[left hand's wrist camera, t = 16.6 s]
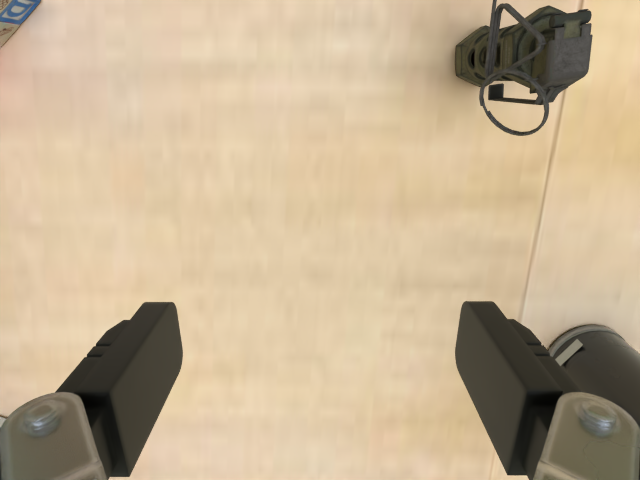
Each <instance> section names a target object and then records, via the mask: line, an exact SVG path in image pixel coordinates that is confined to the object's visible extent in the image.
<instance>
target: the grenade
mask: <svg viewBox="0 0 640 480" xmlns="http://www.w3.org/2000/svg"><path fill="white" fill-rule="evenodd" d="M496 1H497V0H493V5H492V13H491V21H490V27H488V26H483V27H480V28H479V29H477V30H476V31H475V32H473V33H472V34H471V35H469V36H468V37H467V38H465V39H464V40H463V41H462V42H460V43H459V44H458V45H457V46H456V56H455V65H456V76H458V77H460V78H462V79H464V80H466V81H468V82H470V83H472V84H474V85H477V86H479V87H481V89H480V95H479V99H480V105H481V106H483V108H484V110H485V112H486V115H487V116H488V117H489V119H490V120H491V121H492V122H493V123H494V124H495V125H496V126H497V127H498V128H500V129H501V130H503V131H505V132H507V133H510V134H513V135H518V136H524V135H530V134H533V133H535V132H536V131H538V130H539V129H540V128H541V127H542V126H543V125H544V124H545V122H546V120H547V118H548V114H549V102H553V101H554V100H555V98H556V96H557V95H558V94H559V93H560V92H561V91H563V90H564V89H566V88H568V86H570V85H571V84H573V83H575V82H576V81H578V80H579V79H581V78H583V77H584V76H585V75H586V74H587V72H588V69H589V61H590V52H591V43H592V35H590V33H591V23H589V24H586V23H588V22H589V21H590V19H591V11H587V10H588V9H584V10H579V11H578V12H575V13H565V12H563V11H561V10H559V9H556V8H554V7H551V6H546V7H542V8H539V9H538V10H536V11H535V12H533V13H532V14H530V15H529V16H527V17H526V18H524V17H522V16H521V15H520V14H519V13H518V12H517V11H516V10H515V9H514V8H513V7H512V6H511V5H509V4H507V3H506V4H500V5H499V6H498V7H497V9H496ZM495 9H496V11H495ZM503 9H505V10H507V11H508V12H509V13H510V14H511V15H512V16H513V17H514V18H515V19H516V20H517V21H518V22H519V23H518V24H516V25H512V26H508V27H505V28H501V29H499V27H500V20H501V13H502V10H503ZM493 81H515V82H517V83H520V84H522V85H524V86H526V87H528V88H530V94H531V93H537V94H538V97H537V99H536V100H528V99H515V98H503V91H504V84H495V85H489V84H490V83H492V82H493ZM487 85H489V94H488V100H493V101H503V102H514V103H524V104H536V105H544V111H545V113H544V118H543V120H542V123H541V124H540V125H539V126H538V127H537V128H536V129H534V130H531V131H528V132H519V131H514V130H511V129H509V128H507V127H505V126H503V125H502V124H501V123H499V122H498V121H497V120H496V119H495V118H494V117H493V115H492V114H491V112H490V111H487V109H486V107H485V103H484V98H483V94H484V88H485V87H486V86H487Z"/></svg>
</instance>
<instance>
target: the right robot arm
mask: <svg viewBox="0 0 640 480" xmlns="http://www.w3.org/2000/svg"><path fill="white" fill-rule="evenodd" d="M5 420H6V418H3V417H0V427H1V426H2V424H3V423H4V421H5Z"/></svg>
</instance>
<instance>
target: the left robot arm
mask: <svg viewBox="0 0 640 480" xmlns="http://www.w3.org/2000/svg"><path fill="white" fill-rule="evenodd" d="M182 358H183V350H182V342H181V336H180V329H179V322H178V315H177V309H176V306H175V304H174V303H173V302H145V303H143V304H142V305H141V307H140V308H139V309H138V311H137V312H136V313H135V314H134V316H133V317H132V318H131V319H130V320H123V321H122V322H120V323H119V324H117V325H115V326H114V327H112V328H111V329H109V330H108V331H107V332H106V333H105V334H104V335H103V336H102V337H101V339H100V340H99V341H98V342H97V343H96V346H94V347H93V348H92V349H91V351H90V352H89V353H88V354H87V357H85V358H84V359H83V360H82V361H81V362H80V364H79V365H78V366H77V367H76V368H75V370H74V371H73V372H72V373H71V374H70V375H69V377H68V378H67V379H66V380H65V381H64V383H63V384H62V385H61V386H60V387H59V388H58V390H57V391H56V392H55V393H51V394H47V395H44V396H41V397H38V398H36V399H33V400H31V401H29V402H27V403H25V404H24V405H22V406H21V407H19V408H18V409H16V410H15V411H14V412H13V413H12V414H10V415H9V416H8V418H7V419H6V420H5V421H4V423H3V424H2V426H1V427H0V480H108V479H109V477H130V475H131V472H132V470H133V468H134V466H135V464H136V462H137V460H138V458H139V456H140V454H141V452H142V449H143V447H144V445H145V443H146V441H147V439H148V437H149V435H150V433H151V431H152V429H153V426H154V424H155V422H156V420H157V418H158V416H159V414H160V412H161V410H162V408H163V406H164V403H165V401H166V399H167V397H168V395H169V393H170V391H171V389H172V387H173V385H174V383H175V380H176V378H177V376H178V374H179V372H180V369H181V365H182ZM455 358H456V365H457V368H458V371H459V374H460V376H461V378H462V380H463V382H464V384H465V386H466V388H467V390H468V393H469V395H470V397H471V399H472V401H473V403H474V405H475V407H476V410H477V412H478V414H479V416H480V418H481V420H482V422H483V424H484V426H485V429H486V431H487V433H488V435H489V437H490V439H491V441H492V443H493V446H494V448H495V450H496V452H497V454H498V456H499V458H500V460H501V462H502V465H503V467H504V469H505V471H506V473H507V475H527V476H528V478H529V480H640V354H639V353H638V352H637V351H636V350H634V349H633V348H632V347H631V346H630V345H629V344H628V343H626V342H625V340H624V339H623V338H622V337H621V336H620V335H618V334H617V333H616V332H615V331H613V330H612V329H610V328H608V327H605V326H600V325H587V326H582V327H578V328H575V329H573V330H570V331H568V332H567V333H565V334H563V335H562V336H561V337H559V338H558V339H557V340H556V341H555V342H554V343H553V344H552V346H551V347H550V349H549V350H548V351H547V349H546V348H545V347H544V346H541V342H540V341H539V340H538V339H537V337H536V336H535V335H534V334H533V333H532V331H531V330H529V329H528V328H526V327H525V326H523V325H522V324H520V323H519V322H517V321H516V320H514V319H507V318H506V317H505V316H504V314H503V313H502V312H501V310H500V309H499V308H498V307H497V305H496V304H495V303H494V302H492V301H466V302H464V303H463V305H462V308H461V314H460V321H459V327H458V334H457V341H456V348H455Z"/></svg>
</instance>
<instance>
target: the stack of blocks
mask: <svg viewBox="0 0 640 480" xmlns="http://www.w3.org/2000/svg"><path fill="white" fill-rule="evenodd" d="M40 1H41V0H0V47H2V46H3V44H4V43H5V42H6V41H7V40H8V39H9V37H10V36H11V35H12V34H13V33H14V32H15V31H16V30H17V29H18V27H19V26H20V24H21V23H22V22H23V21H24V20H25V19H26V18H27V17H28V16H29V15H30V13H31V12H32V11H33V10H34V9H35V8H36V6H37V5H38V4H39V3H40Z"/></svg>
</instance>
